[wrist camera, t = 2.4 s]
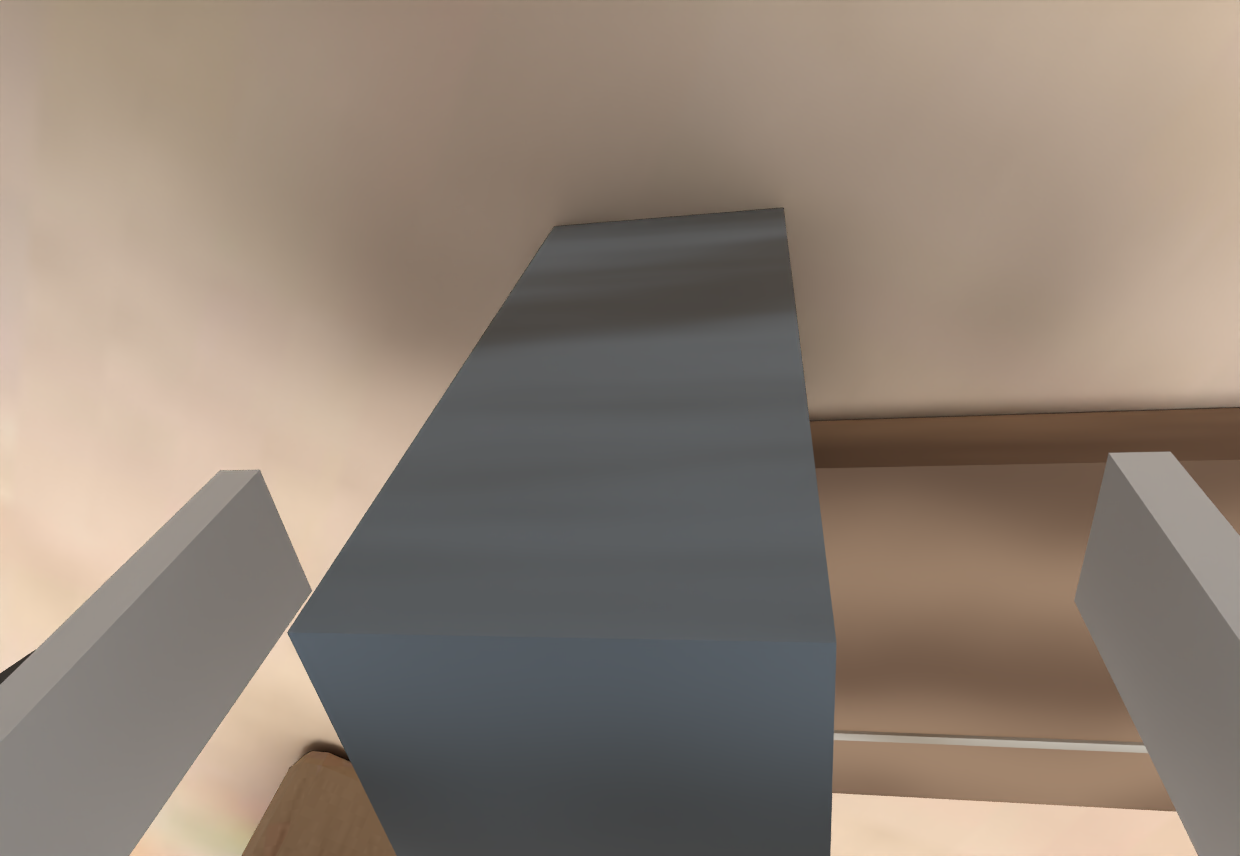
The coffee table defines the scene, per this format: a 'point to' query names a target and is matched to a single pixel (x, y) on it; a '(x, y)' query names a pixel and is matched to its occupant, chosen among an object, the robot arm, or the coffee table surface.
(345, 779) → the wooden block
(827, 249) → the coffee table surface
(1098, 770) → the board
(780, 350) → the grey block
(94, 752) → the robot arm
